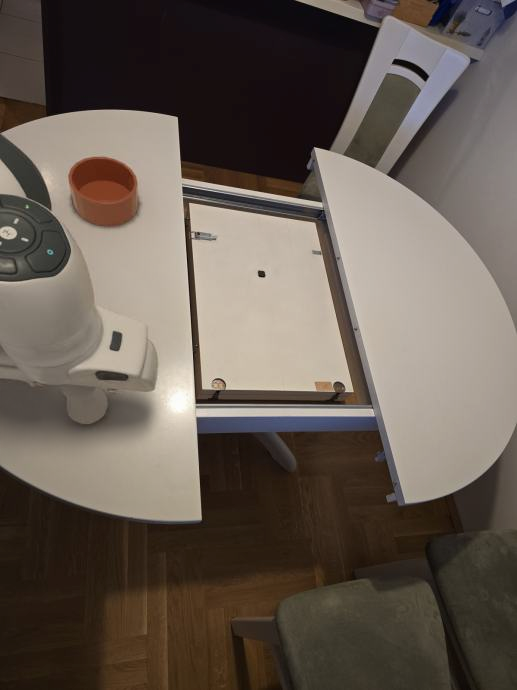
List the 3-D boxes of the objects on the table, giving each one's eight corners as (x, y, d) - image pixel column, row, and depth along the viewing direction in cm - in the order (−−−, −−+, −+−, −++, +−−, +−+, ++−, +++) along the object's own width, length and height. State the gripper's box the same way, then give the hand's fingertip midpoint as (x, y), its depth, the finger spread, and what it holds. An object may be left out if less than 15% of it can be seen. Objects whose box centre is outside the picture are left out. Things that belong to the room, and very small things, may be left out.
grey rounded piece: (101, 431, 60) (91, 407, 49) (63, 422, 59) (44, 396, 48) (114, 396, 63) (107, 366, 52) (78, 387, 62) (63, 354, 51)
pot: (66, 219, 75) (61, 195, 70) (81, 175, 81) (76, 150, 75) (132, 231, 78) (131, 209, 73) (141, 188, 83) (141, 165, 78)
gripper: (-74, 354, 36) (-18, 400, 48) (154, 378, 40) (153, 414, 52) (-49, 297, 39) (-2, 354, 51) (162, 325, 43) (159, 371, 55)
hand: (78, 385), depth 51 cm, fingers open, 8 cm apart
